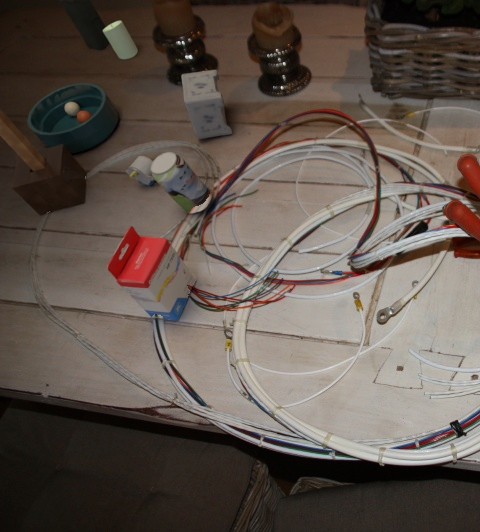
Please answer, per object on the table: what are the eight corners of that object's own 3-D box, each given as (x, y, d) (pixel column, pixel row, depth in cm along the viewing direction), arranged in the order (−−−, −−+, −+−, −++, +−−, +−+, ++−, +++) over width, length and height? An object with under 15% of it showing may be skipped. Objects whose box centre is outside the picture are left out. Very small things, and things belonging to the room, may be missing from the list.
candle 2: (114, 56, 135) (95, 25, 128) (129, 45, 137) (112, 14, 130) (126, 62, 133) (108, 31, 126) (142, 50, 135) (125, 20, 128)
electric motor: (127, 187, 108) (113, 169, 104) (141, 170, 110) (129, 152, 106) (154, 194, 106) (142, 176, 102) (169, 177, 108) (157, 159, 104)
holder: (39, 215, 106) (11, 188, 99) (43, 184, 111) (17, 156, 104) (84, 203, 107) (59, 174, 100) (86, 172, 112) (63, 143, 105)
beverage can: (216, 212, 102) (189, 166, 92) (178, 223, 101) (146, 178, 91) (213, 188, 105) (187, 142, 95) (176, 199, 105) (146, 154, 95)
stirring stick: (58, 198, 108) (-52, 80, 85) (59, 191, 109) (-50, 72, 86) (70, 195, 108) (-38, 76, 85) (70, 187, 109) (-35, 68, 86)
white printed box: (238, 133, 114) (219, 92, 105) (199, 144, 113) (177, 104, 104) (232, 105, 119) (214, 64, 111) (195, 115, 118) (174, 75, 110)
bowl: (42, 164, 114) (23, 143, 109) (48, 116, 124) (31, 94, 119) (119, 143, 116) (104, 121, 111) (120, 97, 125) (106, 75, 120)
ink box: (178, 322, 89) (133, 272, 77) (151, 318, 90) (102, 269, 78) (198, 278, 93) (158, 225, 81) (172, 275, 94) (129, 223, 82)
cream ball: (63, 113, 121) (66, 116, 119) (63, 99, 120) (66, 102, 118) (78, 115, 123) (81, 117, 121) (78, 101, 122) (81, 104, 120)
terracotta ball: (84, 108, 116) (97, 116, 119) (79, 107, 118) (92, 115, 121) (76, 119, 116) (90, 128, 118) (71, 118, 118) (84, 127, 120)
